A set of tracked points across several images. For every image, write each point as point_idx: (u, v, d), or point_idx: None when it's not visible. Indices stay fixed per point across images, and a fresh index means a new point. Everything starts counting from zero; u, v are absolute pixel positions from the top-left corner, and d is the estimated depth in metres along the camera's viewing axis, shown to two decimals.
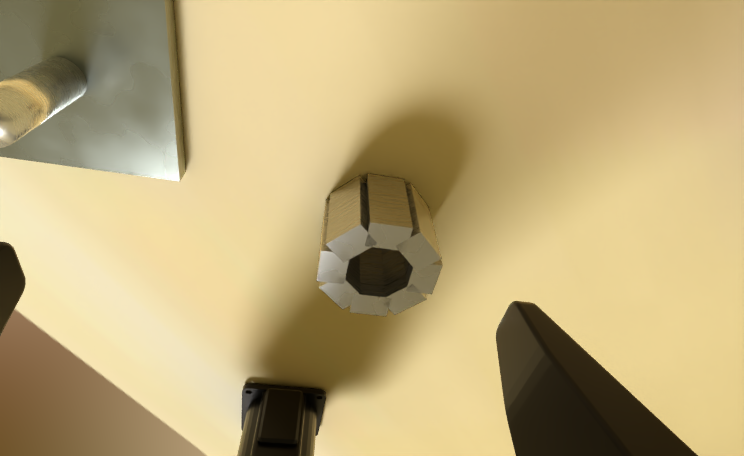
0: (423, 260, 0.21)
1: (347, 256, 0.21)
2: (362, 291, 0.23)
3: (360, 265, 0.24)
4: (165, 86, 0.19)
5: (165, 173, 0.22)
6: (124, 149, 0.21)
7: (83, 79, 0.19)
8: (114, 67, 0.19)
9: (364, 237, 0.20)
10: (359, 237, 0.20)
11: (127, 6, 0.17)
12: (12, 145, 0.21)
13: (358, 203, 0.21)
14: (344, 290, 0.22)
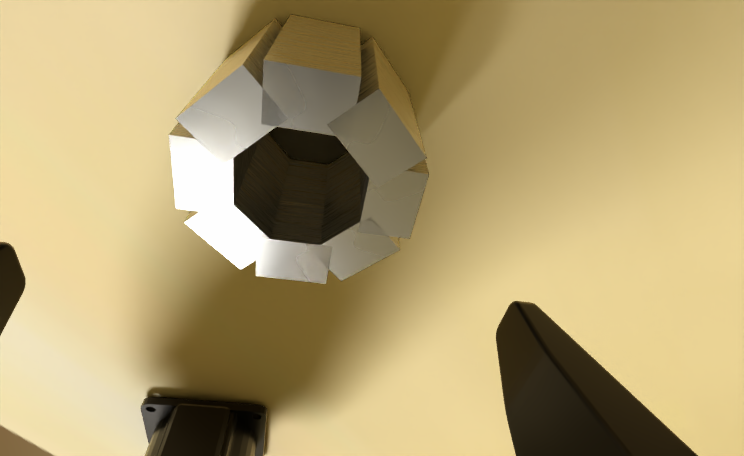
0: (389, 161, 0.10)
1: (228, 150, 0.10)
2: (275, 233, 0.12)
3: (282, 193, 0.13)
4: None
5: None
6: None
7: None
8: None
9: (257, 101, 0.09)
10: (247, 101, 0.09)
11: None
12: None
13: (255, 44, 0.10)
14: (236, 229, 0.11)
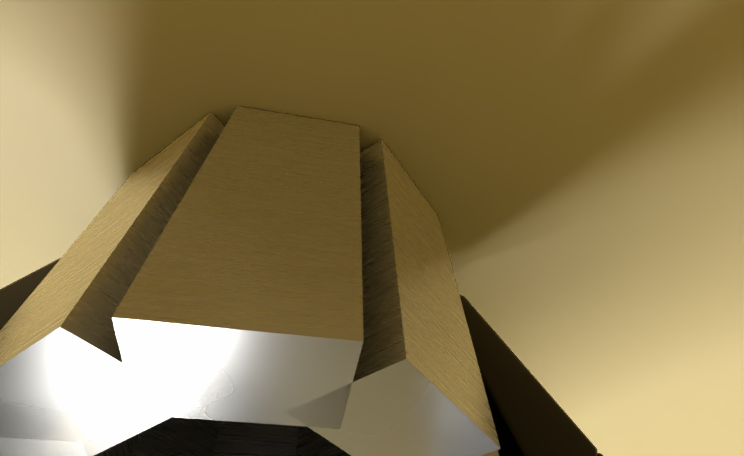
0: (422, 454, 0.05)
1: (72, 450, 0.05)
2: None
3: None
4: None
5: None
6: None
7: None
8: None
9: (115, 383, 0.04)
10: (92, 382, 0.04)
11: None
12: None
13: (141, 207, 0.05)
14: None
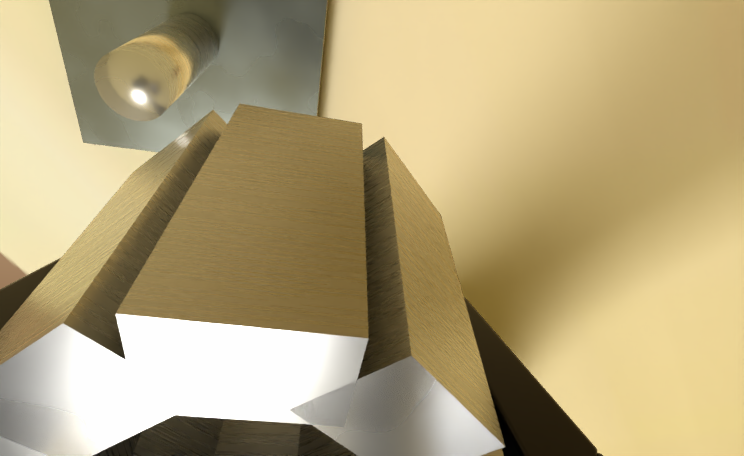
0: (426, 453, 0.05)
1: (75, 448, 0.05)
2: None
3: None
4: (314, 49, 0.15)
5: None
6: None
7: (217, 42, 0.15)
8: (256, 25, 0.15)
9: (118, 380, 0.04)
10: (94, 380, 0.04)
11: None
12: (117, 130, 0.17)
13: (142, 204, 0.05)
14: None
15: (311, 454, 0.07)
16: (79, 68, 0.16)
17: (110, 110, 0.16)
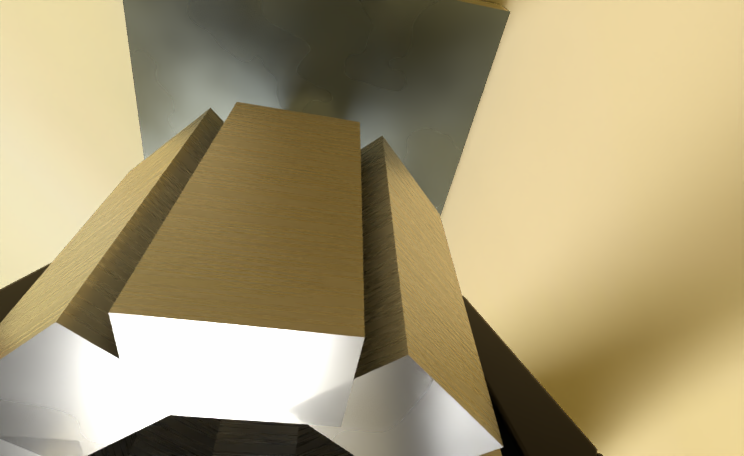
0: (423, 453, 0.05)
1: (69, 448, 0.04)
2: None
3: None
4: (449, 160, 0.13)
5: None
6: None
7: None
8: (385, 135, 0.12)
9: (113, 380, 0.04)
10: (88, 379, 0.04)
11: (439, 46, 0.11)
12: None
13: (139, 202, 0.05)
14: None
15: (309, 454, 0.07)
16: None
17: None
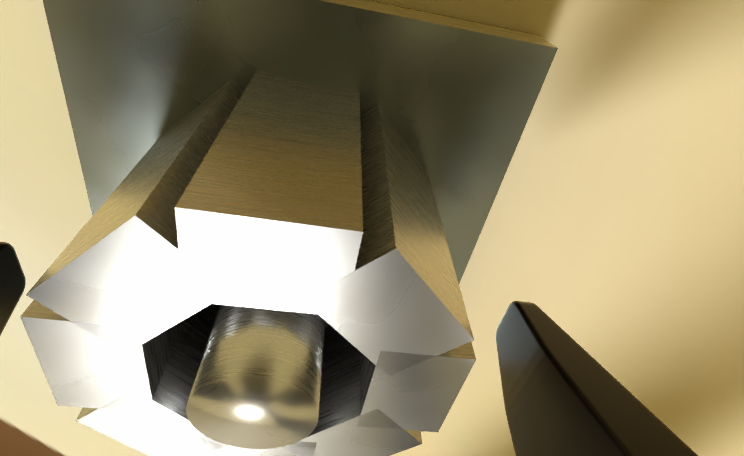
0: (410, 345, 0.06)
1: (130, 335, 0.06)
2: None
3: None
4: (472, 223, 0.10)
5: None
6: None
7: None
8: None
9: (171, 269, 0.05)
10: (153, 269, 0.05)
11: (464, 91, 0.09)
12: None
13: (182, 145, 0.06)
14: (162, 427, 0.07)
15: None
16: None
17: None
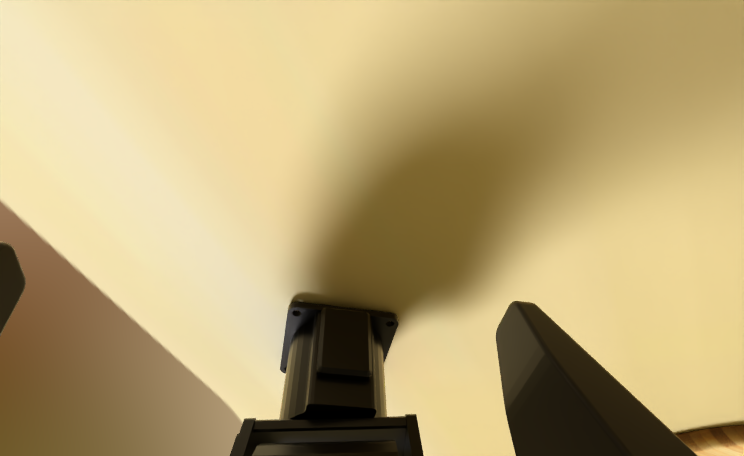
0: None
1: None
2: None
3: None
4: None
5: None
6: None
7: None
8: None
9: None
10: None
11: None
12: None
13: None
14: None
15: None
16: None
17: None
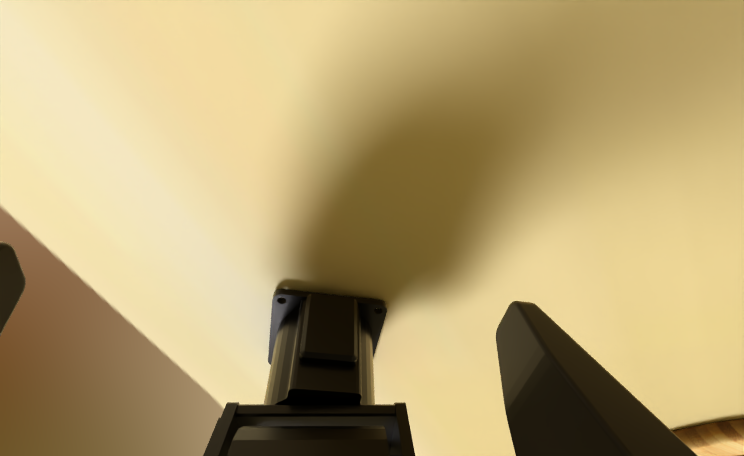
0: None
1: None
2: None
3: None
4: None
5: None
6: None
7: None
8: None
9: None
10: None
11: None
12: None
13: None
14: None
15: None
16: None
17: None
